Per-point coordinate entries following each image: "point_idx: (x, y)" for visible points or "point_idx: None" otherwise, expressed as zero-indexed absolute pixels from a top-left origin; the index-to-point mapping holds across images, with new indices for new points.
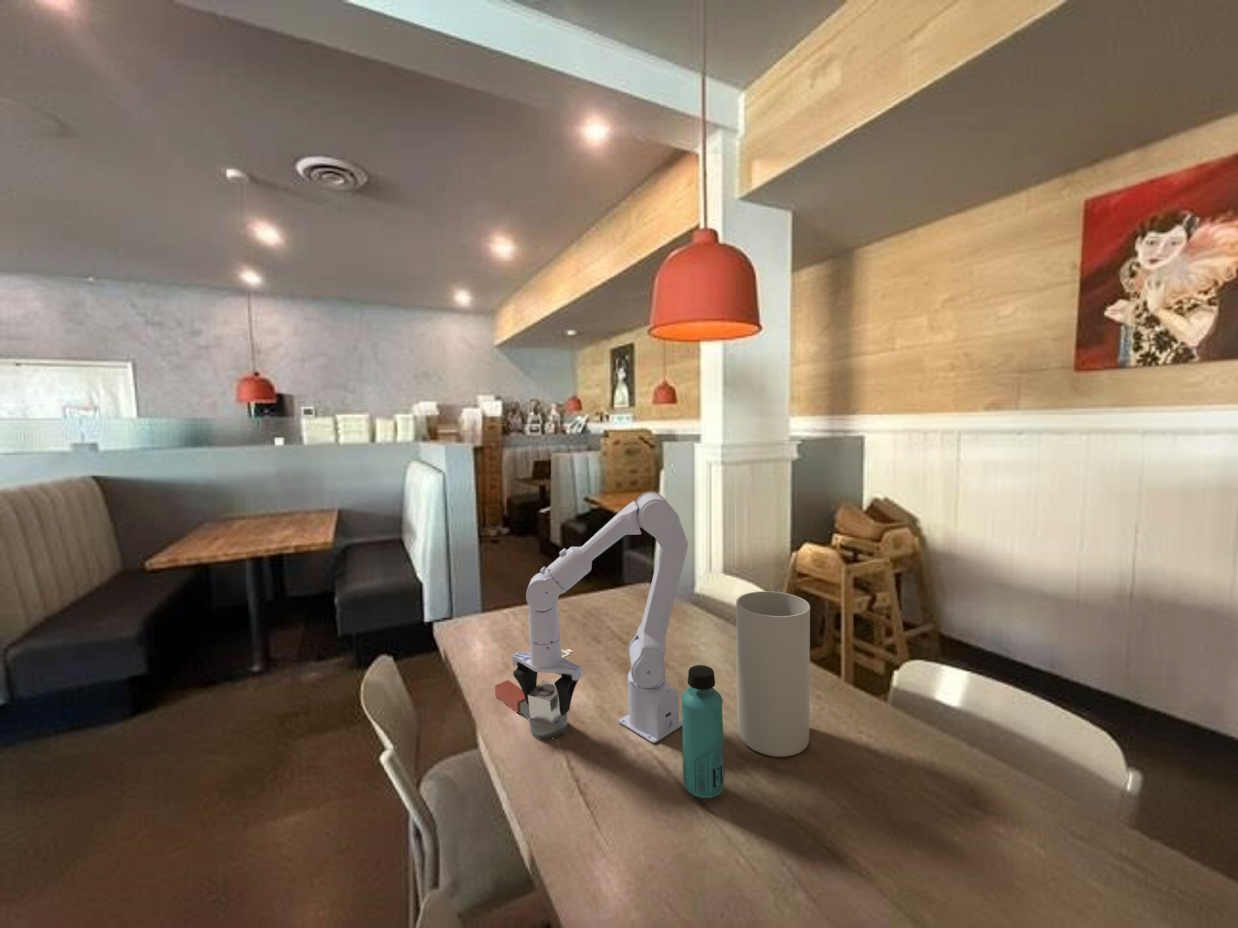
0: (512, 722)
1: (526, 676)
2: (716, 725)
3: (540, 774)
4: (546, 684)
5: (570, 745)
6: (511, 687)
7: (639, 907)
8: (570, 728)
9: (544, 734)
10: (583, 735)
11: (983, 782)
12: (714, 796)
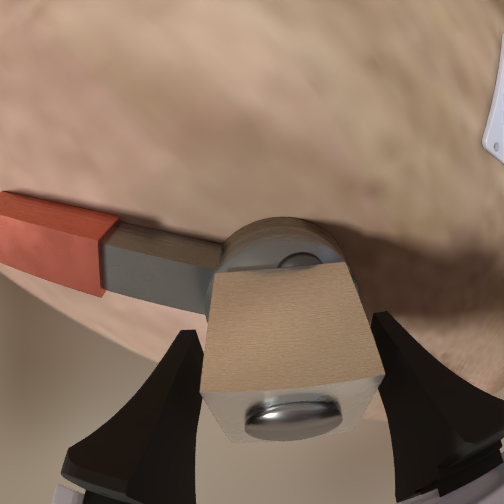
0: (147, 307)
1: (188, 492)
2: None
3: None
4: (268, 419)
5: (387, 302)
6: (12, 237)
7: (492, 393)
8: (351, 243)
9: None
10: (406, 251)
11: None
12: None
